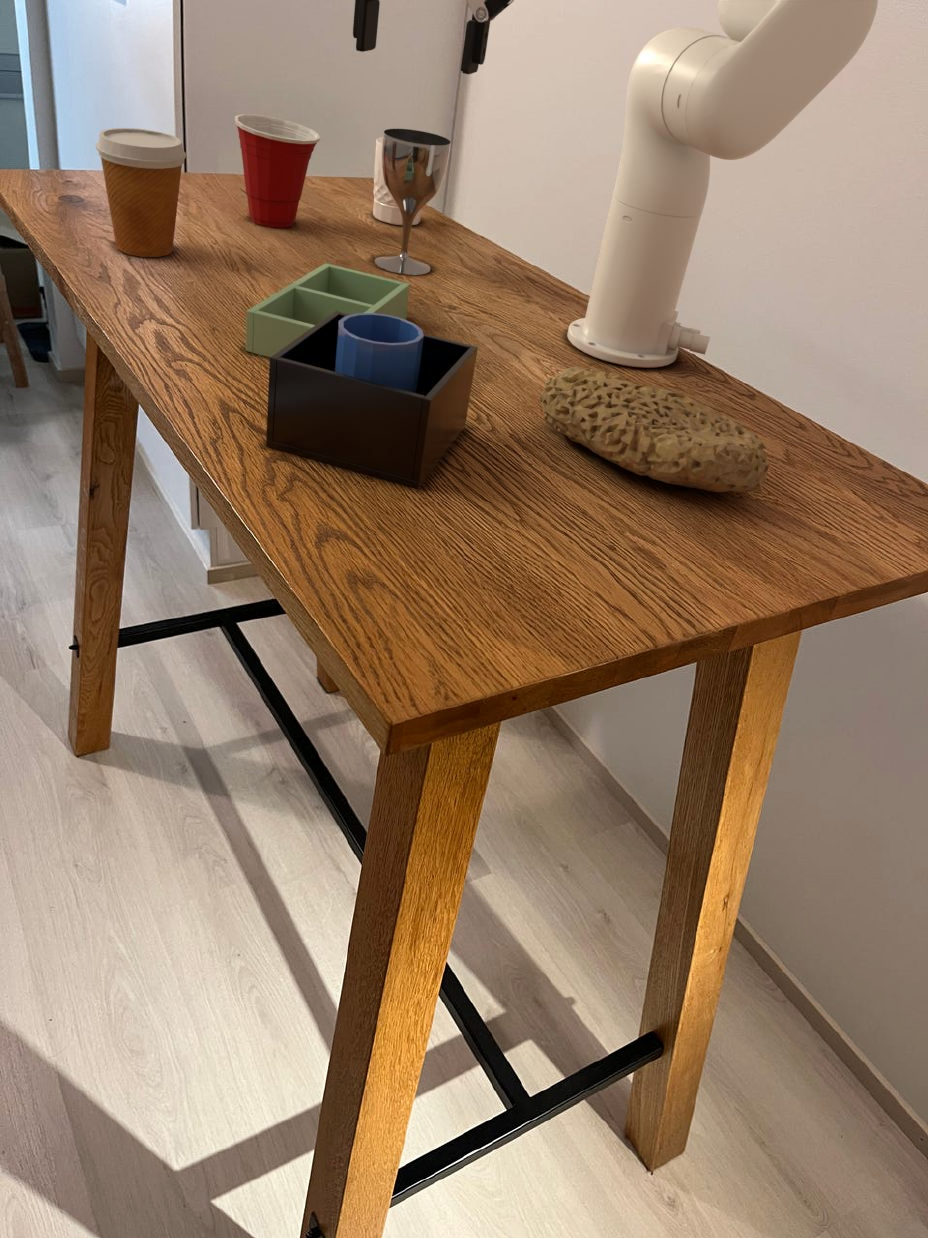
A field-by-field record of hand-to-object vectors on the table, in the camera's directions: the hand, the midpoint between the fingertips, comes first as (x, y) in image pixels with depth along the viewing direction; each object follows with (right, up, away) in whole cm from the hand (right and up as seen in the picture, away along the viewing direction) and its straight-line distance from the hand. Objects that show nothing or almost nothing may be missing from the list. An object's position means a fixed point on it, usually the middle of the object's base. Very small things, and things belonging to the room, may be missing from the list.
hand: (416, 60), depth 89 cm
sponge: (+20, -35, +2) cm, 41 cm away
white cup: (-6, +8, +56) cm, 57 cm away
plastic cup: (-21, +4, +46) cm, 51 cm away
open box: (-4, -33, -2) cm, 34 cm away
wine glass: (-4, -5, +39) cm, 39 cm away
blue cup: (-4, -33, -2) cm, 33 cm away
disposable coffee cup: (-33, -6, +29) cm, 44 cm away
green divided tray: (-10, -20, +16) cm, 27 cm away
